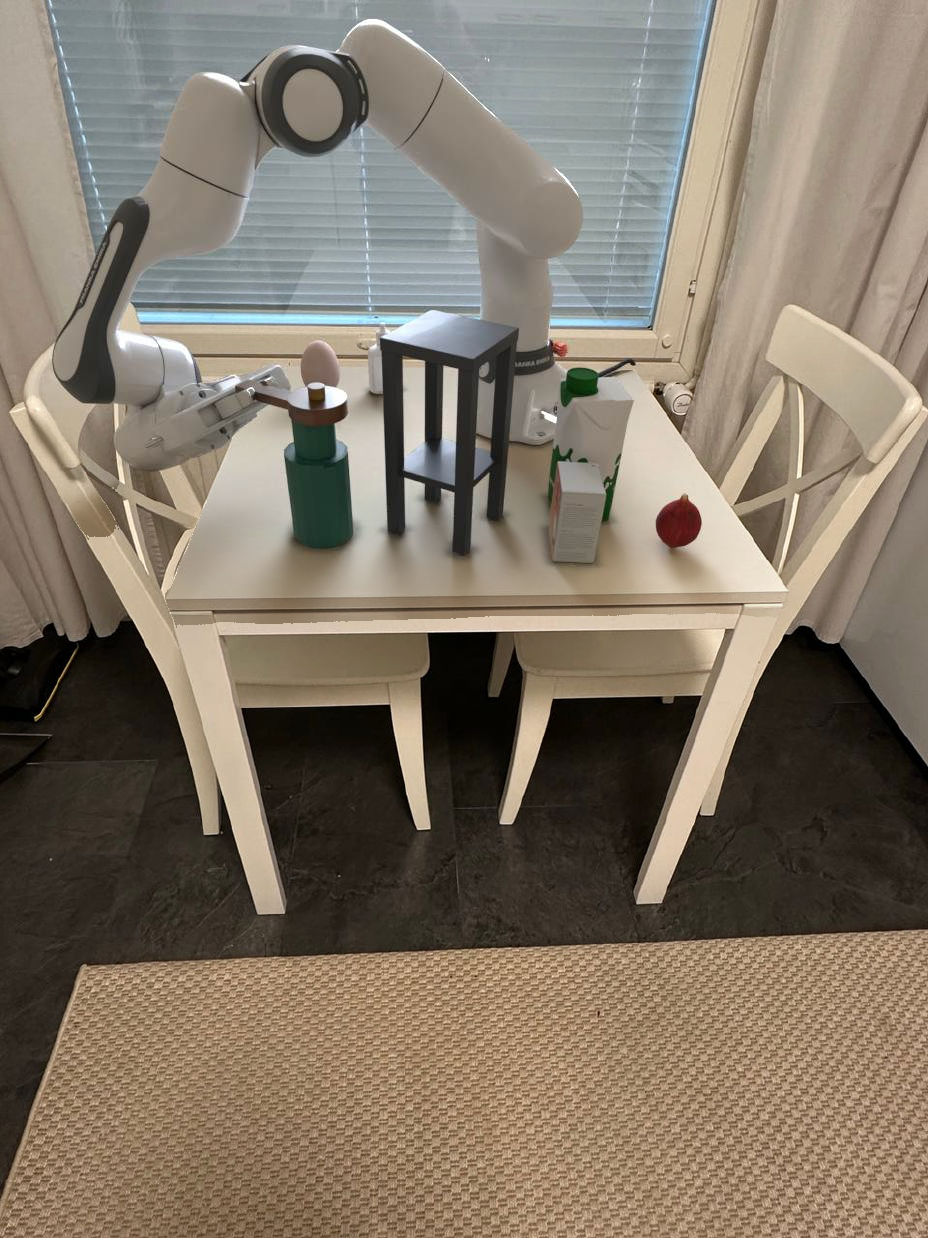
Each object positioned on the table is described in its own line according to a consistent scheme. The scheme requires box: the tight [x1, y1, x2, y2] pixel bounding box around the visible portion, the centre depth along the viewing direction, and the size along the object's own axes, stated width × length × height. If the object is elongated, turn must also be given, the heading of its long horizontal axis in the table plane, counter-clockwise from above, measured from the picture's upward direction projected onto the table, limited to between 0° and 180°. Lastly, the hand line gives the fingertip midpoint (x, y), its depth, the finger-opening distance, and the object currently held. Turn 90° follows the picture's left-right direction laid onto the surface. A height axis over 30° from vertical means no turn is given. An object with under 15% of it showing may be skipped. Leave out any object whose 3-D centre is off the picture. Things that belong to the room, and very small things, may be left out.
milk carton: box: [547, 367, 635, 521], centre depth 102 cm, size 9×9×20 cm
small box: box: [547, 461, 606, 564], centre depth 98 cm, size 8×6×10 cm
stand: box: [380, 309, 519, 557], centre depth 96 cm, size 12×12×26 cm
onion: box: [655, 492, 703, 549], centre depth 99 cm, size 6×6×8 cm
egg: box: [300, 340, 341, 388], centre depth 132 cm, size 7×7×10 cm
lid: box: [235, 380, 349, 426], centre depth 90 cm, size 15×7×3 cm, turn 62°
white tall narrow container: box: [367, 322, 391, 395], centre depth 135 cm, size 4×6×12 cm
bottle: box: [283, 419, 354, 549], centre depth 96 cm, size 8×8×17 cm
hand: (262, 389), depth 92 cm, fingers closed on lid, 2 cm apart
